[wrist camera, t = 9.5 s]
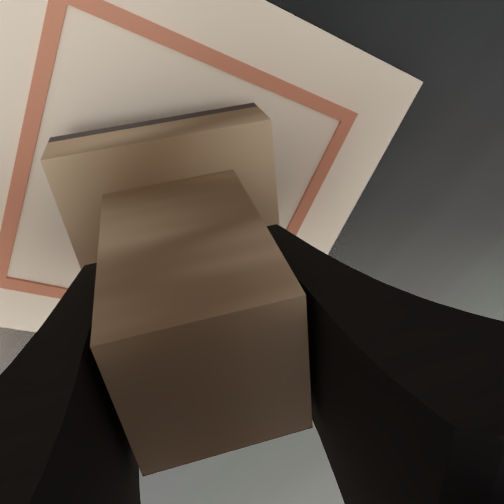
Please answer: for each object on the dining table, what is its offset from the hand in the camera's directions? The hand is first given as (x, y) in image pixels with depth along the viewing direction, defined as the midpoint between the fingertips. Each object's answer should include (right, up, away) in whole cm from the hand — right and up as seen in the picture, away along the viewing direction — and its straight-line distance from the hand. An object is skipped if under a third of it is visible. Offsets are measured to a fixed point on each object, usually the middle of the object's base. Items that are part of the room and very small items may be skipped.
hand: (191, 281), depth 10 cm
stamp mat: (-1, +2, +4) cm, 5 cm away
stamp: (-1, +2, +2) cm, 3 cm away
